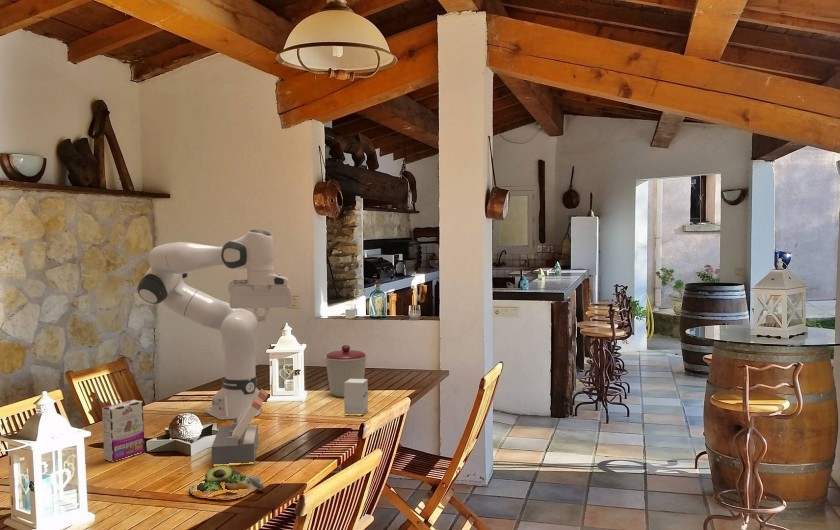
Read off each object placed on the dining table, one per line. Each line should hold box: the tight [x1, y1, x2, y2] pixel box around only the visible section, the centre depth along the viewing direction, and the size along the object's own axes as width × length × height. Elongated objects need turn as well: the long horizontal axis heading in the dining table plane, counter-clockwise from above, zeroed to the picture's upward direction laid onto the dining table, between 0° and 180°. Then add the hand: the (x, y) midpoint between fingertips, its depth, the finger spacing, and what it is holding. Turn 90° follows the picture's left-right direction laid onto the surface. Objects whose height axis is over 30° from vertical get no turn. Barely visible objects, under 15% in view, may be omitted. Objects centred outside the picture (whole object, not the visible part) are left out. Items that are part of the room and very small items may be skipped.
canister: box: [323, 344, 368, 398], centre depth 290 cm, size 18×18×21 cm
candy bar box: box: [101, 399, 146, 461], centre depth 211 cm, size 11×5×16 cm, turn 148°
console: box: [211, 417, 259, 466], centre depth 213 cm, size 12×23×8 cm, turn 10°
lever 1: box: [236, 388, 269, 423], centre depth 220 cm, size 3×5×14 cm
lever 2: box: [232, 397, 263, 440], centre depth 206 cm, size 3×5×14 cm
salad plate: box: [188, 465, 266, 498], centre depth 184 cm, size 19×18×5 cm
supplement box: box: [343, 378, 369, 415], centre depth 259 cm, size 7×7×13 cm
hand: (261, 321), depth 226 cm, fingers closed
